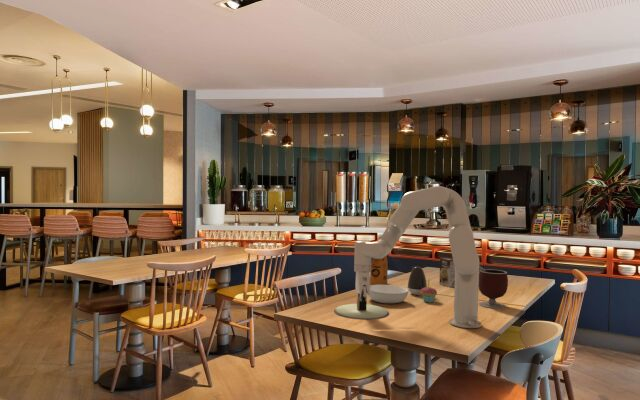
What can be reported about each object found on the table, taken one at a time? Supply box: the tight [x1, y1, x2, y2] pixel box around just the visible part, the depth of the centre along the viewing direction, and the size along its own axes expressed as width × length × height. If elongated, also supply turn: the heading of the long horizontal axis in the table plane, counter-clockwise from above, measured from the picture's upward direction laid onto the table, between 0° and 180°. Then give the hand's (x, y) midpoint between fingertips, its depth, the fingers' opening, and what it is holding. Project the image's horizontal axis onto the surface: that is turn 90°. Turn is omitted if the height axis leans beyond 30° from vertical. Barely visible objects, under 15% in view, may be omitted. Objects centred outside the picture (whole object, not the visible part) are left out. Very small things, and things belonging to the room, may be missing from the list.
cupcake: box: [420, 279, 438, 303], centre depth 236 cm, size 9×8×12 cm
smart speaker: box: [407, 266, 428, 296], centre depth 253 cm, size 10×10×15 cm
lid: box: [335, 295, 388, 320], centre depth 208 cm, size 23×23×7 cm
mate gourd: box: [478, 265, 509, 310], centre depth 229 cm, size 16×14×20 cm
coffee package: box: [369, 255, 389, 286], centre depth 278 cm, size 10×12×22 cm
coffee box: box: [438, 257, 455, 288], centre depth 280 cm, size 9×6×16 cm
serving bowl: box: [367, 284, 409, 304], centre depth 232 cm, size 21×21×7 cm
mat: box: [333, 308, 390, 321], centre depth 208 cm, size 25×25×1 cm
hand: (361, 308), depth 208 cm, fingers closed on lid, 4 cm apart
